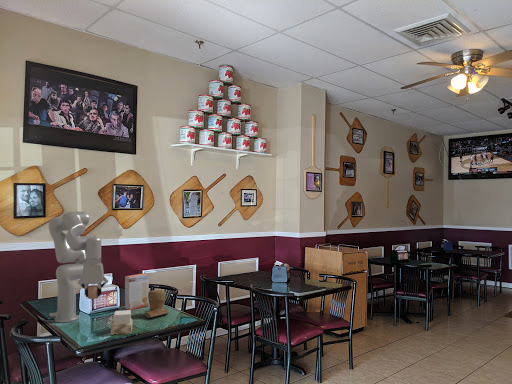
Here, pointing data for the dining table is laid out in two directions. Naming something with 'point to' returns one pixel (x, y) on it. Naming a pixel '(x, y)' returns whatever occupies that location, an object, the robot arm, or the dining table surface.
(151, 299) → the tan piece
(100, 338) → the dining table surface
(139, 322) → the dining table surface
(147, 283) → the cracker box
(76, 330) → the dining table surface
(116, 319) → the whitewashed block
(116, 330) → the maple base block
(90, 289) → the terracotta cylinder
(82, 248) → the robot arm
